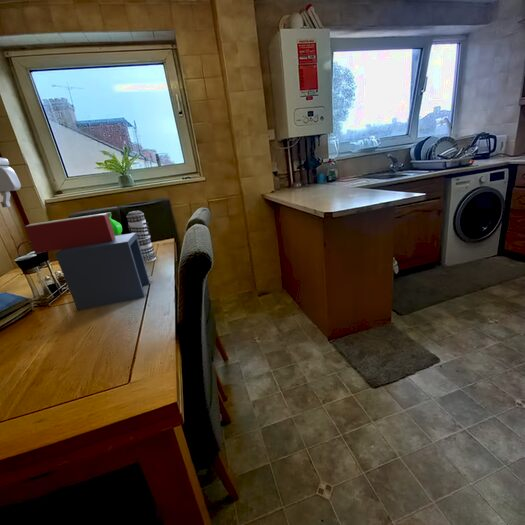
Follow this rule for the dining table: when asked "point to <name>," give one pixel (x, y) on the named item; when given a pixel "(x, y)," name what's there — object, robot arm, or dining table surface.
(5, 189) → the robot arm
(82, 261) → the shelf
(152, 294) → the dining table surface
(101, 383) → the dining table surface
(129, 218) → the leaning tower model
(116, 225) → the plastic bottle
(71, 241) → the book
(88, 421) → the dining table surface
